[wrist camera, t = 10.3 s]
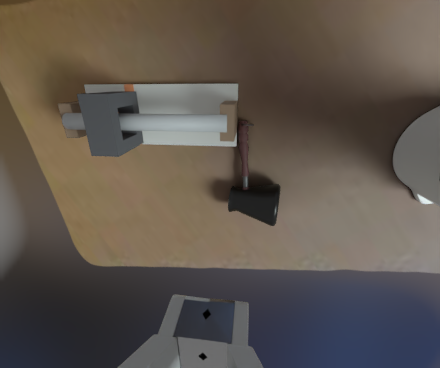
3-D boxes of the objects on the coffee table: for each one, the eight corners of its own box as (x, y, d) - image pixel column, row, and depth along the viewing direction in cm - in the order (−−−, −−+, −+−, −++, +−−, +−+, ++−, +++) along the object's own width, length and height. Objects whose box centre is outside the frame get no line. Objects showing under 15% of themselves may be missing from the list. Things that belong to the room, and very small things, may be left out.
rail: (238, 83, 37) (234, 84, 28) (236, 144, 41) (232, 161, 32) (88, 84, 40) (43, 85, 31) (100, 141, 44) (64, 155, 35)
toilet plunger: (276, 216, 46) (234, 209, 48) (288, 122, 40) (241, 119, 42) (274, 234, 39) (225, 225, 41) (289, 123, 33) (232, 120, 35)
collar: (136, 91, 36) (106, 94, 28) (143, 142, 39) (118, 156, 32) (112, 91, 36) (76, 94, 29) (121, 142, 39) (91, 155, 32)
